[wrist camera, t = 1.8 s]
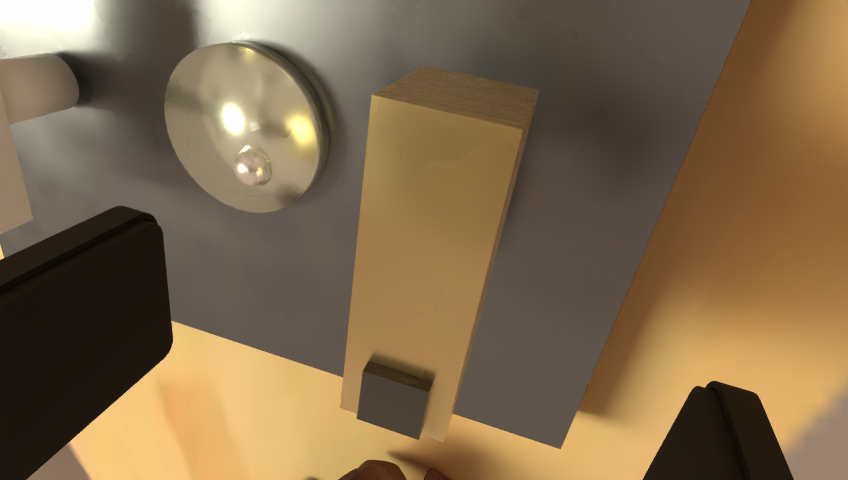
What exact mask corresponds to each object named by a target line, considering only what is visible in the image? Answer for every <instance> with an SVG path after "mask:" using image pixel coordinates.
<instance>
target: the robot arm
mask: <svg viewBox="0 0 848 480" xmlns="http://www.w3.org/2000/svg"><path fill="white" fill-rule="evenodd" d="M172 343H173V334H172V323H171V313H170V302H169V291H168V281H167V270H166V260H165V249H164V238H163V231H162V228H161V227H160V226H159V225H158V224H157V220H156V219H155V217H154V216H153V215H151V214H150V213H146V212H143V211H139V210H136V209H133V208H129V207H126V206H116V207H113V208H111V209H109V210H106V211H104V212H102V213H100V214H98V215H96V216H94V217H91V218H89V219H87V220H85V221H83V222H81V223H79V224H76V225H74V226H72V227H70V228H68V229H66V230H64V231H61V232H59V233H57V234H55V235H53V236H51V237H49V238H46V239H44V240H42V241H40V242H38V243H36V244H34V245H31V246H29V247H27V248H25V249H23V250H21V251H19V252H16V253H14V254H12V255H10V256H8V257H6V258H4V259H1V260H0V480H26V479H27V478H29V477H30V476H31V475H32V474H33V473H34V472H35V471H37V470H38V469H39V468H40V467H41V466H42V465H43V464H44V463H46V462H47V461H48V460H49V459H50V458H51V457H52V456H54V455H55V454H56V453H57V452H58V451H59V450H60V449H61V448H63V447H64V446H65V445H66V444H67V443H68V442H70V441H71V440H72V439H73V438H74V437H75V436H76V435H77V434H79V433H80V432H81V431H82V430H83V429H84V428H85V427H87V426H88V425H89V424H90V423H91V422H92V421H93V420H95V419H96V418H97V417H98V416H99V415H100V414H101V413H102V412H104V411H105V410H106V409H107V408H108V407H109V406H110V405H112V404H113V403H114V402H115V401H116V400H117V399H118V398H120V397H121V396H122V395H123V394H124V393H125V392H126V391H127V390H129V389H130V388H131V387H132V386H133V385H134V384H135V383H137V382H138V381H139V380H140V379H141V378H142V377H143V376H145V375H146V374H147V373H148V372H149V371H150V370H151V369H152V368H154V367H155V366H156V365H157V364H158V363H159V362H160V361H162V360H163V359H164V358H165V357H166V356H167V354H168V353H169V351H170V349H171V347H172ZM643 480H794V479H793V477H792V474H791V472H790V469H789V467H788V465H787V462H786V460H785V457H784V455H783V453H782V450H781V448H780V446H779V443H778V441H777V438H776V436H775V434H774V431H773V429H772V427H771V424H770V422H769V419H768V417H767V415H766V412H765V410H764V408H763V405H762V403H761V400H760V399H759V397H758V395H757V394H755V393H754V392H751V391H748V390H744V389H741V388H737V387H734V386H731V385H727V384H724V383H721V382H717V381H711V382H710V383H709V384H707V386H706V387H705V388H704V387H700V386H696V387H694V388H693V389H692V391H691V392H690V394H689V396H688V398H687V400H686V401H685V403H684V405H683V407H682V409H681V410H680V412H679V414H678V416H677V418H676V420H675V421H674V423H673V425H672V427H671V429H670V431H669V432H668V434H667V436H666V438H665V440H664V441H663V443H662V445H661V447H660V449H659V451H658V452H657V454H656V456H655V458H654V460H653V461H652V463H651V465H650V467H649V469H648V471H647V472H646V474H645V476H644V478H643Z"/></svg>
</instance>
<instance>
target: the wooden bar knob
mask: <svg viewBox="0 0 848 480" xmlns="http://www.w3.org/2000/svg"><path fill="white" fill-rule="evenodd" d="M538 93H539V90H538V89H533V88H529V87H524V86H519V85H515V84H510V83H505V82H501V81H496V80H492V79H487V78H482V77H478V76H473V75H468V74H464V73H459V72H455V71H450V70H445V69H441V68H436V67H431V66H427V65H423V66H421V67H419V68H418V69H416V70H414V71H412V72H411V73H409V74H407V75H405V76H404V77H402V78H400V79H398V80H397V81H395V82H393V83H391V84H390V85H388V86H386V87H384V88H383V89H381V90H379V91H377V92H376V93H374V94H372V96H371V106H370V116H369V126H368V136H367V146H366V156H365V166H364V176H363V186H362V196H361V206H360V216H359V226H358V236H357V246H356V256H355V266H354V276H353V286H352V296H351V306H350V316H349V326H348V336H347V345H346V355H345V365H344V375H343V385H342V395H341V405H340V408H343V409H345V410H348V411H351V412H354V413H357V419H359V420H362V421H365V422H368V423H371V424H374V425H377V426H380V427H382V428H385V429H388V430H391V431H394V432H397V433H400V434H403V435H406V436H409V437H412V438H415V439H417V440H419V438H420V435H422V436H425V437H427V438H430V439H433V440H436V441H439V442H442V443H444V439H445V436H446V433H447V430H448V426H449V423H450V420H451V417H452V413H453V410H454V407H455V404H456V400H457V397H458V394H459V391H460V387H461V384H462V381H463V378H464V374H465V371H466V368H467V365H468V361H469V358H470V355H471V351H472V347H473V343H474V340H475V336H476V332H477V328H478V324H479V320H480V316H481V313H482V309H483V305H484V301H485V297H486V293H487V289H488V286H489V282H490V278H491V274H492V270H493V266H494V262H495V259H496V255H497V251H498V247H499V243H500V239H501V236H502V232H503V228H504V224H505V220H506V216H507V212H508V209H509V205H510V201H511V197H512V193H513V189H514V185H515V182H516V178H517V174H518V170H519V166H520V162H521V158H522V155H523V151H524V147H525V143H526V139H527V135H528V131H529V128H530V124H531V120H532V116H533V112H534V108H535V104H536V101H537V97H538Z"/></svg>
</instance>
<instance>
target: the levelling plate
mask: <svg viewBox="0 0 848 480" xmlns="http://www.w3.org/2000/svg"><path fill="white" fill-rule="evenodd" d="M750 3H751V0H0V59H1V58H7V57H14V56H21V55H27V54H34V53H41V52H49V53H52V54H55V55H56V56H58V57H60V58H61V59H62V60H63V61H64V62H65V63H66V64H67V65H68V66H69V67H70V69H71V70H72V72H73V74H74V75H75V78H76V80H77V83H78V87H79V98H78V101H77V103H76V105H75V106H74V107H72V108H70V109H66V110H63V111H59V112H55V113H51V114H47V115H44V116H40V117H36V118H32V119H29V120H25V121H21V122H17V123H14V124H10V129H11V133H12V137H13V141H14V145H15V149H16V152H17V156H18V160H19V164H20V168H21V172H22V176H23V180H24V184H25V188H26V192H27V196H28V200H29V204H30V208H31V212H32V216H33V220H31V221H29V222H27V223H25V224H22V225H20V226H18V227H16V228H13V229H11V230H9V231H7V232H4V233H2V234H0V245H1V248H2V251H3V255H4V258H6V257H8V256H10V255H12V254H14V253H16V252H19V251H21V250H23V249H25V248H27V247H29V246H31V245H34V244H36V243H38V242H40V241H42V240H44V239H46V238H49V237H51V236H53V235H55V234H57V233H59V232H61V231H64V230H66V229H68V228H70V227H72V226H74V225H76V224H79V223H81V222H83V221H85V220H87V219H89V218H91V217H94V216H96V215H98V214H100V213H102V212H104V211H106V210H109V209H111V208H113V207H116V206H126V207H129V208H133V209H136V210H139V211H143V212H146V213H150V214H151V215H153V216H154V217H155V219H156V220H157V224H158V225H159V226H160V227H161V228H162V231H163V238H164V249H165V260H166V270H167V281H168V291H169V302H170V313H171V320H172V321H175V322H178V323H181V324H184V325H187V326H190V327H193V328H196V329H199V330H202V331H205V332H208V333H211V334H214V335H217V336H220V337H223V338H226V339H229V340H232V341H235V342H238V343H241V344H244V345H247V346H250V347H253V348H256V349H259V350H262V351H265V352H268V353H271V354H274V355H277V356H280V357H283V358H286V359H290V360H293V361H296V362H299V363H302V364H305V365H308V366H311V367H314V368H317V369H320V370H323V371H326V372H329V373H332V374H335V375H338V376H341V377H343V375H344V365H345V355H346V345H347V336H348V326H349V316H350V306H351V296H352V286H353V276H354V266H355V256H356V246H357V236H358V226H359V216H360V206H361V196H362V186H363V176H364V166H365V156H366V146H367V136H368V126H369V116H370V106H371V96H372V94H374V93H376V92H377V91H379V90H381V89H383V88H384V87H386V86H388V85H390V84H391V83H393V82H395V81H397V80H398V79H400V78H402V77H404V76H405V75H407V74H409V73H411V72H412V71H414V70H416V69H418V68H419V67H421V66H423V65H427V66H431V67H436V68H441V69H445V70H450V71H455V72H459V73H464V74H468V75H473V76H478V77H482V78H487V79H492V80H496V81H501V82H505V83H510V84H515V85H519V86H524V87H529V88H533V89H538V90H539V93H538V97H537V101H536V104H535V108H534V112H533V116H532V120H531V124H530V128H529V131H528V135H527V139H526V143H525V147H524V151H523V155H522V158H521V162H520V166H519V170H518V174H517V178H516V182H515V185H514V189H513V193H512V197H511V201H510V205H509V209H508V212H507V216H506V220H505V224H504V228H503V232H502V236H501V239H500V243H499V247H498V251H497V255H496V259H495V262H494V266H493V270H492V274H491V278H490V282H489V286H488V289H487V293H486V297H485V301H484V305H483V309H482V313H481V316H480V320H479V324H478V328H477V332H476V336H475V340H474V343H473V347H472V351H471V355H470V358H469V361H468V365H467V368H466V371H465V374H464V378H463V381H462V384H461V387H460V391H459V394H458V397H457V400H456V404H455V407H454V410H453V414H456V415H459V416H462V417H465V418H468V419H471V420H474V421H477V422H480V423H483V424H486V425H489V426H492V427H495V428H498V429H501V430H504V431H507V432H510V433H513V434H516V435H519V436H522V437H525V438H528V439H532V440H535V441H538V442H541V443H544V444H547V445H550V446H553V447H556V448H559V449H561V447H562V445H563V442H564V440H565V438H566V435H567V433H568V431H569V428H570V426H571V423H572V421H573V419H574V416H575V414H576V412H577V409H578V407H579V405H580V402H581V400H582V398H583V395H584V393H585V391H586V388H587V386H588V384H589V381H590V379H591V376H592V374H593V372H594V369H595V367H596V365H597V362H598V360H599V358H600V355H601V353H602V351H603V348H604V346H605V344H606V341H607V339H608V337H609V334H610V332H611V329H612V327H613V325H614V322H615V320H616V318H617V315H618V313H619V311H620V308H621V306H622V304H623V301H624V299H625V297H626V294H627V292H628V290H629V287H630V285H631V282H632V280H633V278H634V275H635V273H636V271H637V268H638V266H639V264H640V261H641V259H642V257H643V254H644V252H645V250H646V247H647V245H648V243H649V240H650V238H651V235H652V233H653V231H654V228H655V226H656V224H657V221H658V219H659V217H660V214H661V212H662V210H663V207H664V205H665V203H666V200H667V198H668V195H669V193H670V191H671V188H672V186H673V184H674V181H675V179H676V177H677V174H678V172H679V170H680V167H681V165H682V163H683V160H684V158H685V156H686V153H687V151H688V148H689V146H690V144H691V141H692V139H693V137H694V134H695V132H696V130H697V127H698V125H699V123H700V120H701V118H702V116H703V113H704V111H705V109H706V106H707V104H708V101H709V99H710V97H711V94H712V92H713V90H714V87H715V85H716V83H717V80H718V78H719V76H720V73H721V71H722V69H723V66H724V64H725V62H726V59H727V57H728V54H729V52H730V50H731V47H732V45H733V43H734V40H735V38H736V36H737V33H738V31H739V29H740V26H741V24H742V22H743V19H744V17H745V14H746V12H747V10H748V7H749V5H750Z"/></svg>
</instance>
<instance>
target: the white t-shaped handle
mask: <svg viewBox="0 0 848 480" xmlns="http://www.w3.org/2000/svg"><path fill="white" fill-rule="evenodd" d="M78 98H79V87H78V83H77V80H76V78H75V75H74V74H73V72H72V70H71V69H70V67H69V66H68V65H67V64H66V63H65V62H64V61H63V60H62V59H61V58H60V57H58V56H56V55H55V54H52V53H49V52H41V53H34V54H27V55H21V56H14V57H7V58H1V59H0V234H2V233H4V232H7V231H9V230H11V229H13V228H16V227H18V226H20V225H22V224H25V223H27V222H29V221H31V220H33V216H32V212H31V208H30V204H29V200H28V196H27V192H26V188H25V184H24V180H23V176H22V172H21V168H20V164H19V160H18V156H17V152H16V149H15V145H14V141H13V137H12V133H11V129H10V124H14V123H17V122H21V121H25V120H29V119H32V118H36V117H40V116H44V115H47V114H51V113H55V112H59V111H63V110H66V109H70V108H72V107H74V106H75V105H76V103H77V101H78Z"/></svg>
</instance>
